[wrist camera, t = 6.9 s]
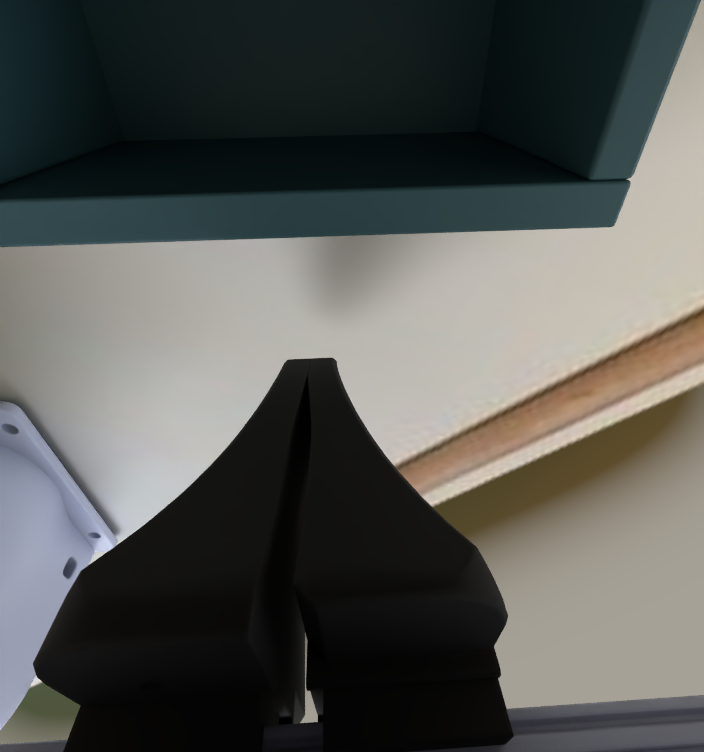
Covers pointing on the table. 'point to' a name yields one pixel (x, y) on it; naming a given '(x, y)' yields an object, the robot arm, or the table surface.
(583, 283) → the table surface
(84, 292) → the table surface
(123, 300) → the table surface
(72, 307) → the table surface
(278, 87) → the drawer
